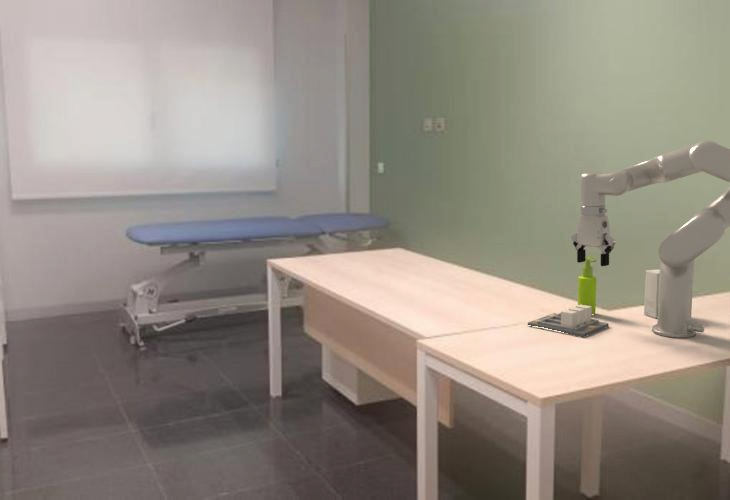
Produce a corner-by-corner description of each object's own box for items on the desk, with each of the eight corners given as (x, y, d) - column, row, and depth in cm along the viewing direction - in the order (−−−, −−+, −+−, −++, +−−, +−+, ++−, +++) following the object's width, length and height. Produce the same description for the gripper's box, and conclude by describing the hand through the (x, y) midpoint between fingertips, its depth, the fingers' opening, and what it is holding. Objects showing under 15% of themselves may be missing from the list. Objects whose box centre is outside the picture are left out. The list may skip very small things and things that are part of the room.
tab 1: (576, 326, 217) (577, 311, 217) (571, 328, 215) (572, 313, 215) (565, 324, 220) (565, 309, 220) (560, 326, 218) (560, 311, 218)
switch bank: (608, 326, 221) (608, 320, 221) (583, 337, 211) (583, 331, 210) (554, 316, 236) (554, 310, 236) (527, 326, 225) (527, 320, 225)
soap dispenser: (585, 317, 234) (586, 260, 230) (574, 312, 240) (575, 256, 237) (600, 315, 235) (602, 258, 232) (589, 311, 242) (590, 255, 238)
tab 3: (591, 321, 224) (591, 306, 223) (586, 323, 222) (586, 308, 221) (580, 319, 226) (580, 304, 226) (575, 321, 224) (575, 306, 224)
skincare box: (655, 319, 229) (657, 273, 226) (642, 314, 235) (644, 270, 233) (676, 316, 231) (678, 271, 229) (663, 312, 237) (664, 268, 235)
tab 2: (584, 324, 220) (584, 309, 220) (579, 325, 218) (579, 310, 218) (572, 321, 223) (573, 307, 223) (568, 323, 221) (568, 308, 221)
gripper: (622, 211, 213) (622, 265, 216) (580, 208, 228) (580, 259, 231) (606, 213, 209) (606, 268, 212) (564, 210, 224) (564, 262, 227)
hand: (592, 263), depth 221 cm, fingers open, 9 cm apart
